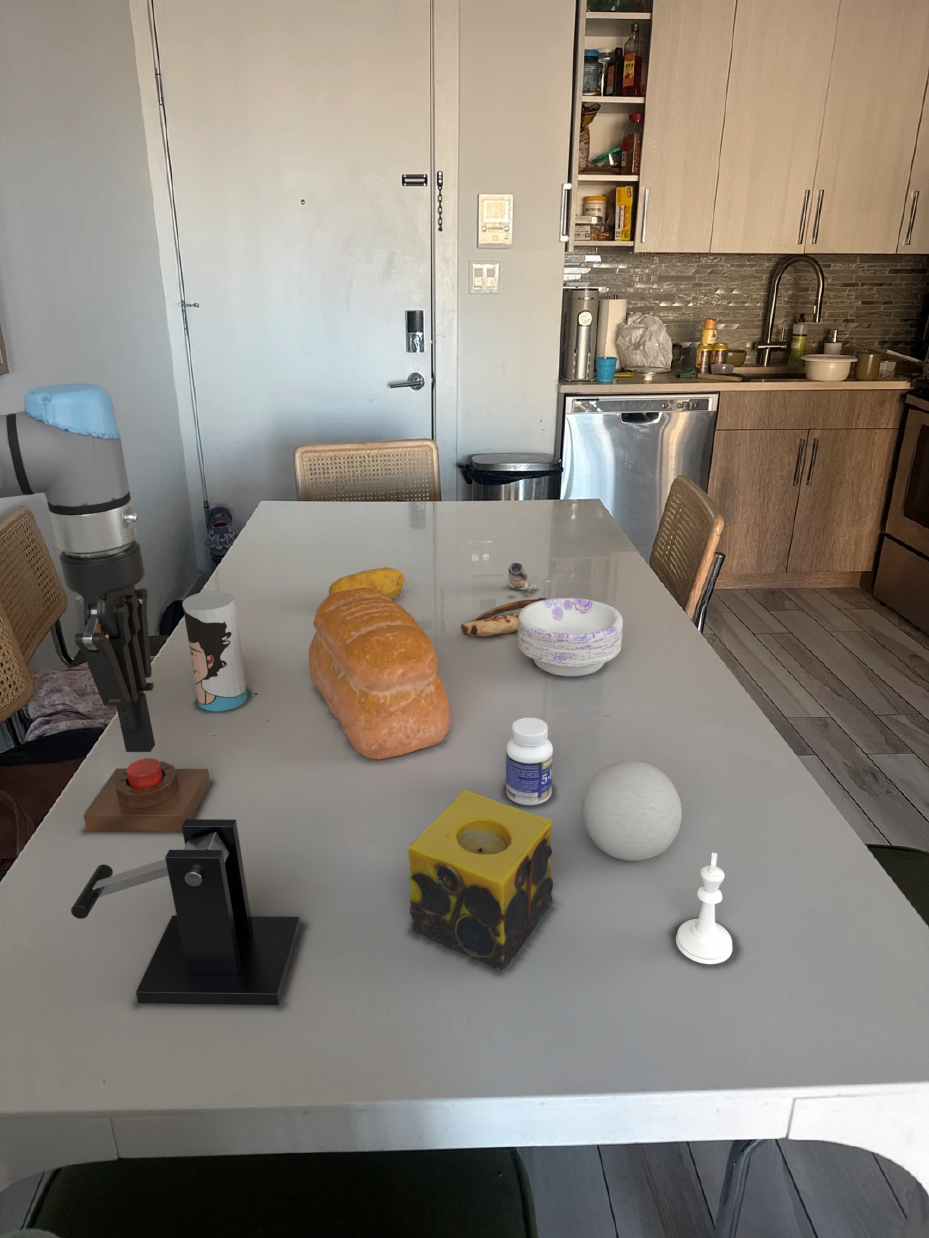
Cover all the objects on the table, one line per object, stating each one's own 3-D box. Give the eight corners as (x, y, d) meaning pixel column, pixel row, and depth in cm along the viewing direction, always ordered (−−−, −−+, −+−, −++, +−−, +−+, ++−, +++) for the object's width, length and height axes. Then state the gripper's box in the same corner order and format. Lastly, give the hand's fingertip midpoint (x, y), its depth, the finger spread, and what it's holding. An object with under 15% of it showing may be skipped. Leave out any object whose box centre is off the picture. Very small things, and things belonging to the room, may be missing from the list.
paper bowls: (592, 635, 139) (594, 589, 136) (639, 676, 126) (642, 626, 122) (502, 650, 134) (502, 602, 131) (541, 695, 121) (542, 643, 118)
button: (124, 789, 96) (121, 775, 95) (136, 770, 99) (133, 757, 99) (156, 789, 96) (153, 775, 95) (167, 770, 99) (164, 757, 98)
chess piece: (733, 929, 80) (745, 841, 76) (731, 969, 76) (744, 878, 72) (678, 919, 81) (687, 831, 77) (673, 957, 77) (682, 867, 73)
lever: (79, 925, 73) (64, 904, 72) (105, 882, 78) (90, 862, 77) (216, 882, 70) (202, 860, 70) (234, 841, 75) (221, 820, 74)
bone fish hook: (541, 609, 150) (445, 627, 143) (541, 583, 148) (444, 600, 141) (569, 628, 142) (470, 647, 135) (570, 600, 140) (469, 619, 133)
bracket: (138, 1003, 74) (107, 873, 68) (174, 925, 82) (149, 804, 76) (278, 1005, 73) (259, 874, 68) (300, 927, 81) (285, 805, 76)
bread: (390, 661, 132) (385, 567, 126) (461, 744, 110) (458, 635, 104) (303, 679, 127) (293, 582, 121) (359, 771, 105) (349, 658, 99)
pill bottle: (550, 808, 97) (551, 740, 94) (503, 804, 98) (503, 737, 95) (553, 781, 102) (554, 715, 99) (508, 778, 103) (508, 712, 99)
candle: (464, 868, 88) (462, 786, 84) (554, 902, 84) (557, 817, 80) (408, 932, 80) (402, 845, 76) (504, 974, 76) (503, 884, 72)
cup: (221, 683, 126) (207, 587, 120) (257, 693, 123) (245, 595, 117) (187, 704, 121) (171, 605, 114) (225, 715, 118) (210, 613, 112)
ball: (583, 881, 86) (587, 797, 82) (577, 819, 95) (580, 741, 91) (685, 883, 86) (694, 799, 82) (669, 821, 95) (676, 742, 91)
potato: (414, 606, 151) (412, 569, 148) (339, 622, 145) (335, 584, 143) (396, 591, 157) (394, 556, 155) (323, 606, 152) (320, 570, 149)
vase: (526, 600, 153) (526, 568, 150) (497, 595, 155) (497, 564, 152) (537, 589, 157) (537, 558, 155) (509, 585, 159) (509, 554, 157)
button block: (87, 831, 95) (79, 801, 94) (119, 783, 103) (113, 755, 102) (186, 831, 95) (180, 801, 93) (211, 784, 103) (206, 755, 101)
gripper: (109, 568, 80) (152, 782, 90) (159, 525, 92) (193, 718, 102) (30, 569, 81) (81, 782, 90) (90, 525, 92) (130, 718, 102)
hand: (140, 748), depth 96 cm, fingers closed
